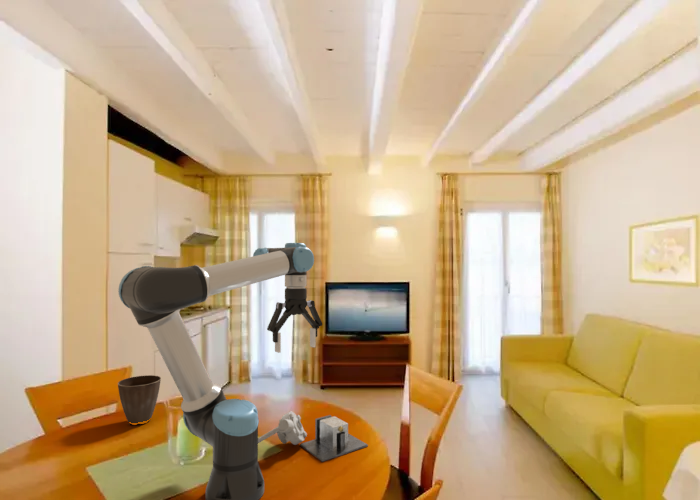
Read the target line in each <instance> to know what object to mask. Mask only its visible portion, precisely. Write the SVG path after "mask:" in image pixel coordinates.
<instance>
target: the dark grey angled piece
mask: <svg viewBox="0 0 700 500" xmlns="http://www.w3.org/2000/svg"><path fill="white" fill-rule="evenodd" d="M330 417H332V415H331V414H328V415H325V416H320V417H317V418H315V420H314V421H315V422H314V423H315V425H314V427H315V430H314V431H315V433H314V434H315V439H312V440H309V441H305V442H300V443H299V447H302V449H304V450H306V451H307V453H309V454H311V455H312V456H313V457H315V458H316V459H318V460H319V461H320V462H321V463H323V462H326V461H329V460H332V459H335V458H338V457H341V456H343V455H344V456H345V455H347V454H350V453H353V452H355V451H358V450H361V449H364V448H367V447H368V446H369V444H367V443H366V442H364V441H362V440H361V439H359V438H357V437H355V436H353V435H352V434H351V433H348V446H347V447H344V434H343V433H342V432H340V433H337V450H335V451H332V450H330V449H329V448H327V447H326V446H324V445H323V444H321V443H320V420H322V419H326V418H330Z"/></svg>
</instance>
